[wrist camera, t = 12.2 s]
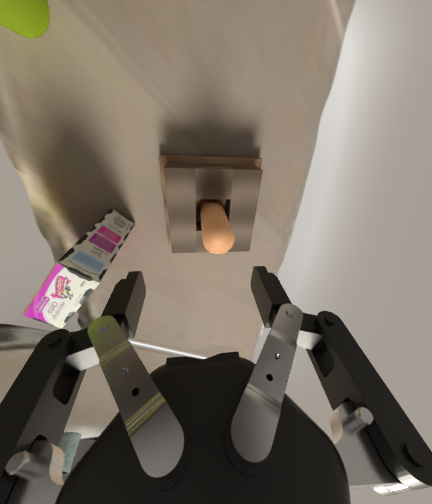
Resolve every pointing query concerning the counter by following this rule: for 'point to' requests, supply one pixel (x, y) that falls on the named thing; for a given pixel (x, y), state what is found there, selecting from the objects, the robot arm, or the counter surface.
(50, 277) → the candy bar box
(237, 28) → the counter surface
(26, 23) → the soap dispenser
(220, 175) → the socket block
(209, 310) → the counter surface
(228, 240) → the wooden pin
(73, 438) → the teal embossed pot
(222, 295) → the counter surface
